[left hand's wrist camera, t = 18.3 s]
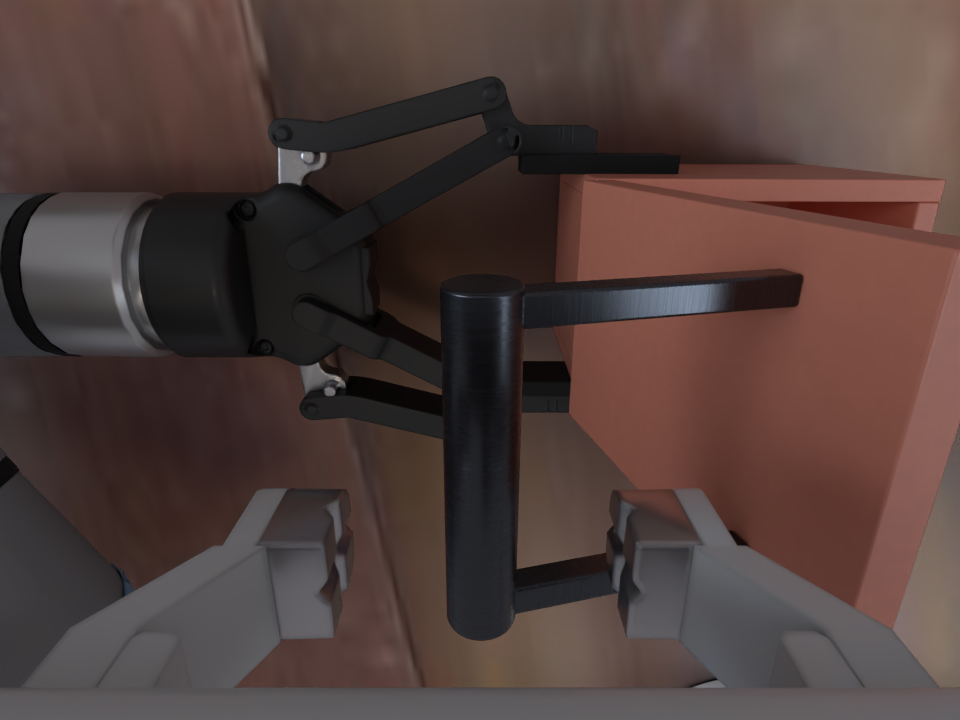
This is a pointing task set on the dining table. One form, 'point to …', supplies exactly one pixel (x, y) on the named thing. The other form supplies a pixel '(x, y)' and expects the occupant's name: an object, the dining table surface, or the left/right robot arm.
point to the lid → (715, 391)
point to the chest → (761, 202)
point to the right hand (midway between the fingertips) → (656, 278)
